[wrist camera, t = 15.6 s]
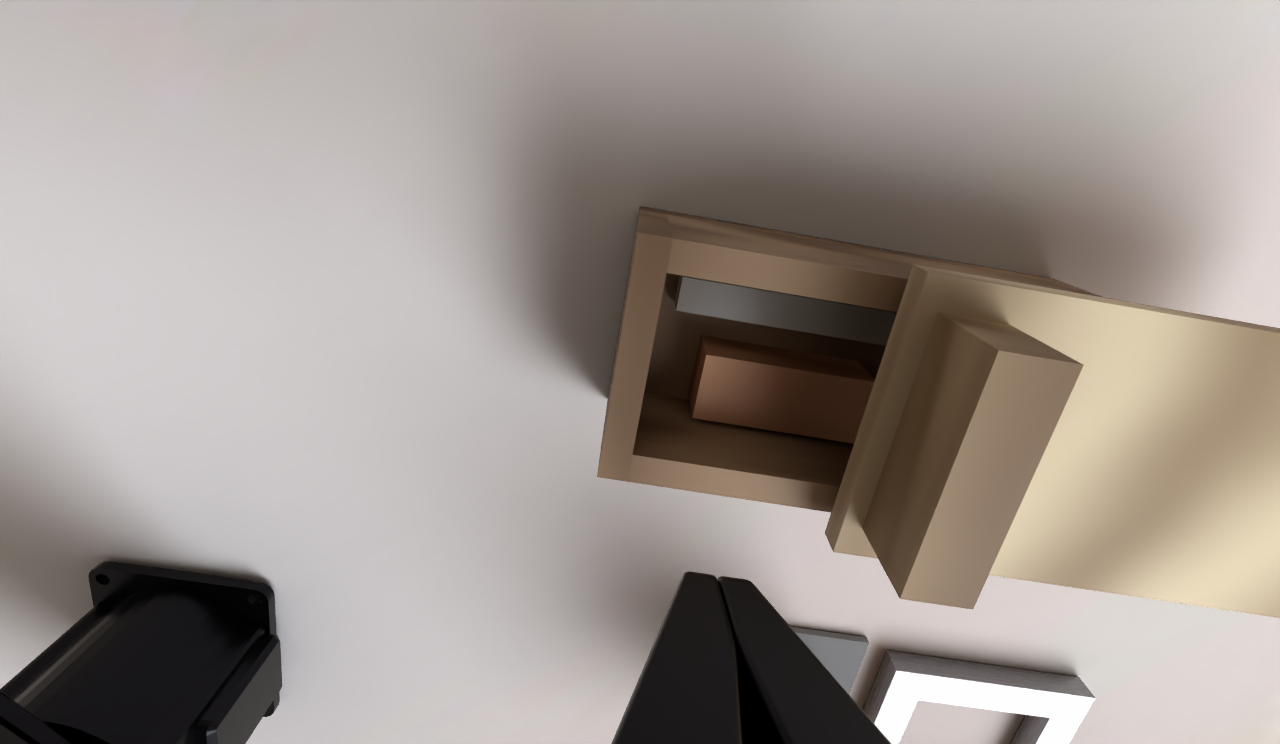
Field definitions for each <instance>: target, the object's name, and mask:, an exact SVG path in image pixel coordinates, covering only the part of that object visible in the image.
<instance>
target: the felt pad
mask: <svg viewBox="0 0 1280 744" xmlns="http://www.w3.org/2000/svg"><path fill="white" fill-rule="evenodd" d="M790 627H791V626H790ZM791 628H792V629H793V630H794V632H795V633H796V634H797V635H798V636H799V637H800V639H801V640H802V641H803V642H804V643H805V644H806V646H807V647H808V648H809V649H810V650H811V651H812V652H813V654H814V655H815V656H816V657H817V658H818V659H819V661H820V662H821V663H822V664H823V665H824V666H825V667H826V669H827V670H828V671H829V672H830V673H831V674H832V676H833V677H834V678H835V679H836V680H837V681H838V682H839V684H840V685H841V686H842V687H843V688H844V689H845V691H846V692H847V693H848V694H849V693H850V690H851V688H852V685H853V682H854V680H855V677H856V675H857V672H858V670H859V667H860V664H861V662H862V659H863V657H864V654H865V652H866V649H867V646H868V644H869V642H868V640H867V638H866V637H862V636H855V635H848V634H841V633H833V632H826V631H819V630H812V629H805V628H798V627H791Z"/></svg>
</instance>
